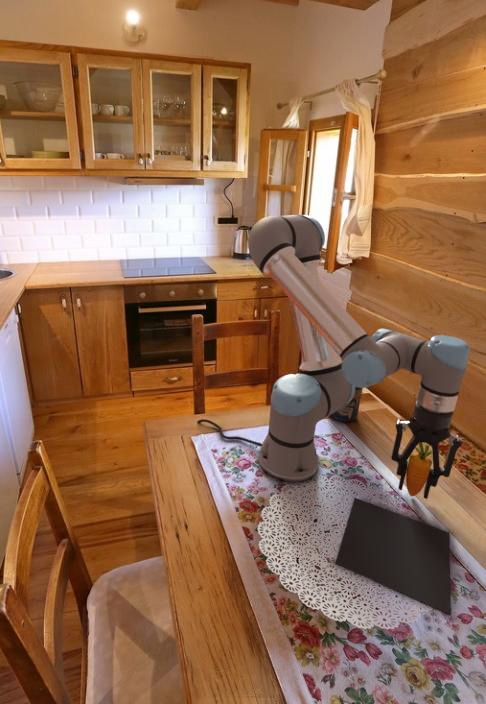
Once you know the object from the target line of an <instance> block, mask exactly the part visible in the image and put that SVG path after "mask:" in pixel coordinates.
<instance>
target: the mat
mask: <svg viewBox="0 0 486 704" xmlns="http://www.w3.org/2000/svg"><path fill="white" fill-rule="evenodd" d="M450 533H451V532H449V531H446V530H444V529H441V528H439V527H437V526H434V525H432V524H428V523H426V522H423V521H420V520H417V519H414V518H413V517H412V518H411V517H409V516H406V515H404V514H401V513H398V512H396V511H393V510H390V509H387V508H385V507H382V506H379V505H377V504H374V503H371V502H369V501H366V500H363V499H361V498H358V497H354V498H353V501H352V505H351V508H350V511H349V515H348V518H347V522H346V525H345V529H344V532H343V535H342V539H341V542H340V546H339V549H338V552H337V557H336V559H335V563H334V564H336V565H337V566H340V567H343V568H345V569H347V570H349V571H351V572H353V573H355V574H357V575H360V576H362V577H365V578H366V579H369V580H371V581H373V582H376V583H378V584H380V585H382V586H385V587H387V588H389V589H392V590H393V591H396V592H398V593H400V594H402V595H405V596H408V598H411V599H414V600H416V601H418V602H420V603H422V604H425V605H427V606H429V607H431V608H433V609H436V610H438V611H441V612H442V613H445V614H447V615H449V616H451V539H450V538H451V535H450Z"/></svg>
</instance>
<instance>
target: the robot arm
mask: <svg viewBox="0 0 486 704" xmlns="http://www.w3.org/2000/svg"><path fill="white" fill-rule="evenodd" d="M325 243H326V235H325V231H324V228H323V225H321V223H320V222H319V221H318V220H317V219H316V218H314V217H312V216H310V215H306V214H298V213H297V214H296V213H295V214H290V215H289V214H288V215H269V216H265V217H263V218H261V219H259V220H258V221H257V222H256V223H254V225H253V226H252V228H251V229H250V231H249V234H248V238H247V247H248V252H249V256H250V258H251V260H252V262H253V263H254V264H255V266H256V268H257V270H259V272H260V273H261V274H262V275H263V277H265V278H271V279H272V280H273V281H274V282H275V284H276V285H277V286H278V287H279V288H280V289H281V290H282V292H283V293H284V294H285V295H286V296H287V297H288V299H289V301H290V305H291V311H292V315H293V320H294V325H295V329H296V334H297V339H298V344H299V348H300V352H301V358H302V362H301V364H300V365H299V366H298V370H299V371H298V372H299V373H295V374H293V373H289V374H286V375H283V376H281V377H280V378H278V379H277V380H276V381H275V382H274V384H273V387H272V392H271V394H270V408H269V422H268V430H267V433H266V436H265V438H264V440H263V442H262V443H261V442H259V441H256V440H252V439H249V438H245V437H243V436H228V435H225V434H224V430H223V427H222V426H220V425H219V424H217V423H216V422H214V421H212V420H209V419H205V418H202V419H198V420H197V421H196V423H198V424H199V423H208V424H210V425H212V426H214V427H215V428H217V429H218V430H219V432H220V436H221V437H222V438H223V439H225V440H240V441H244V442H246V443H249V444H253V445H255V446H259V447H260V449H259V453H258V462H259V465H260V466H261V468H262V469H263V471H264V472H266V473H267V474H268V475H269V476H272V478H275V479H278V480H281V481H285V482H295V483H296V482H297V483H298V482H303V481H306V480H309V479H310V478H312V477H314V475H315V474H316V472H317V470H318V464H319V462H318V461H319V460H318V459H319V458H318V454H317V448H316V445H315V441H314V440H315V434H316V426H317V424H318V423H319V422H321V421H322V420H324V419H325V418H327V417H329V416H330V415H331V414H332V413H334V412H336V411H337V410H340V409H342V408H343V407H345V406H346V404H348V403H349V402H350V401H351V400H352V398H353V396H354V393H355V386H356V387H359V388H363V389H366V388H369V387H372V386H374V385H377V384H379V383H381V382H383V381H384V379H386V378H388V377H389V376H391V375H393V374H394V373H397V372H398V371H400V370H404V371H407V372H409V373H413V374H414V375H419V376H421V377H420V378H421V379H420V382H419V388H418V391H417V395H416V401H415V403H414V408H413V411H412V416H411V417H410V418H409V419H408V420H402V419H400V418H398V419H396V422H395V430H396V435H395V439H394V444H393V447H392V452H391V460H392V461H393V462H397V468H396V476H398V477H400V478H399V481H398V482H399V483H398V490H399V491H403V487H404V482H405V480H406V472H407V467H408V462H409V458H410V456H411V454H413V453H414V450H416V448H415V447H418V446H419V442H422V443H423V444H424V443H425V444H427V445H428V446H431V451H432V465H433V466H432V468H431V469H430V472H429V475H428V478H427V481H426V483H425V485H424V489H423V499H425V500H428V498H429V494H430V490H431V487H433V488H436V487H437V486H438V481H439V480H440V478H441V477H445V478H449V477H450V475H451V471H452V468H453V464H454V461H455V458H456V454H457V450H459V449H460V448H461V446H462V445H463V441H462V436H461V435H459V434H457V435H456V434H454V433H452V432H451V429H450V428H451V424H452V420H453V416H454V411H455V409H456V405H457V401H458V398H459V397H458V396H459V395H460V390H461V387H462V383H463V380H464V377H465V373H466V371H467V368H468V366H469V365H468V362H469V357H470V353H471V347H470V345H469V344H468V343H467V342H466V341H464V340H463V339H461V338H459V337H455V336H452V335H451V336H449V335H445V334H438V335H434V336H432V337H431V338H430V341H428V340H423V339H421V338H417V337H414V336H411V335H409V334H405V333H402V332H399V331H397V330H394V329H393V330H391V329H387V328H379V329H377V330H376V331H375V333H373V335H372V336H370V335H369V334H368V333H367V332H366V331H365V330H364V329H363V327H362V326H361V325H360V324H359V323H358V322H357V321H356V320H355V319H354V318H353V317H352V316H351V315H350V313H349V312H348V311H347V310H346V309H345V308H344V307H343V306H342V305H341V303H339V301H338V300H337V299H336V298H335V297H334V296H333V294H331V292H330V291H328V290H327V288H326V287H325V286H324V285H323V284H322V283H321V282H320V277H319V271H318V267H319V265H320V263H321V262H322V257H321V252H322V250H323V247H324V245H325ZM336 354H337V355H338V356H337V355H336ZM407 428H409V430H410V432H411V434H412V435H411V438H410V439H409V441H408V442H407V444H406V445H405V447H404V449H403V451H402V453H399V452H400V449H401V444H402V439H403V434H404V432H406V431H407ZM447 439H448V444H449V445H448V448H447V452H446V456H445V460H444V463H443V467H441V466H440V447H439V445H440V443H442V442H444V441H445V440H447Z"/></svg>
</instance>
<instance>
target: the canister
mask: <svg viewBox="0 0 486 704" xmlns="http://www.w3.org/2000/svg"><path fill="white" fill-rule="evenodd" d="M363 390H364V388H359V387H356V386H355V393H354V396H353V398H352V400H351V401H350V402H349V403H348V404H346V406H345V407H343V408H342V409H340V410H337V411H336V412H334V413H332V414H331V415H329V416H330V417H331V418H333V419H334V420H338V421H340V422H352V421H354V420H356V419H357V418H358V414H359V409H360V406H361V405H360V404H361V399H362V394H363Z"/></svg>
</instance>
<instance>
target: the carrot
mask: <svg viewBox="0 0 486 704" xmlns="http://www.w3.org/2000/svg"><path fill="white" fill-rule="evenodd" d="M415 450H416V452H412V454H411V455H410V457H409V458H408V466H407V471H406V475H405V485H406V489H407V492H408V495H409V496H410V497H415V496H417V495H418V494H419V493H420V492H421V491H422V490H423V488H425V485H426V481H427V478H428V475H429V472H430V469H432V465H433V460H432V459H431V458H429V456H430V455H433V453H432V449H430V445H429V444H427V443H425V446H424V443H423V442H419V443H418V446H416V447H415Z"/></svg>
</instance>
